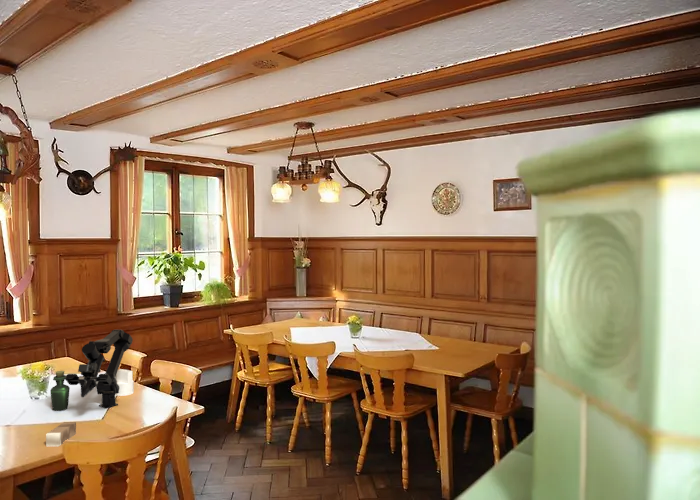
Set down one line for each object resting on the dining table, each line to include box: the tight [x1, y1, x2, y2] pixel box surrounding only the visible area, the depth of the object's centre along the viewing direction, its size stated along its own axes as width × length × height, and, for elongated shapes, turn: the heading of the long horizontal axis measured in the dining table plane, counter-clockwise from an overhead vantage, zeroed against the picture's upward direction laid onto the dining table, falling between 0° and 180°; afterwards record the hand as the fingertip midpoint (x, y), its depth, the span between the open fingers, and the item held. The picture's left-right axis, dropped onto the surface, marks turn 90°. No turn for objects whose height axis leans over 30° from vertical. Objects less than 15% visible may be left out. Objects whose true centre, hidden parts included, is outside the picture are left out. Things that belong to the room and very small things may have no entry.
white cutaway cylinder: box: [115, 368, 135, 397], centre depth 270 cm, size 9×9×12 cm
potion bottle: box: [50, 370, 71, 412], centre depth 245 cm, size 8×8×18 cm
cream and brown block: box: [45, 421, 77, 448], centre depth 208 cm, size 5×5×13 cm
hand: (82, 396), depth 225 cm, fingers closed
